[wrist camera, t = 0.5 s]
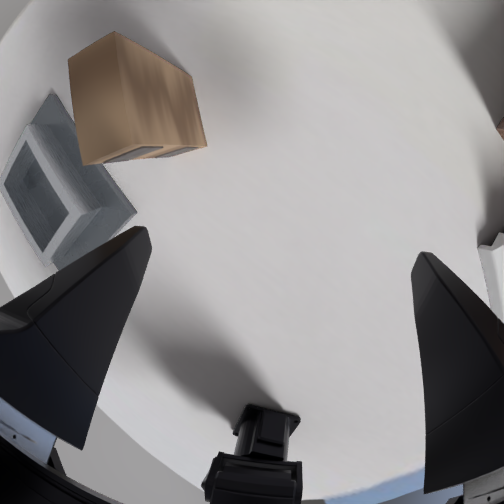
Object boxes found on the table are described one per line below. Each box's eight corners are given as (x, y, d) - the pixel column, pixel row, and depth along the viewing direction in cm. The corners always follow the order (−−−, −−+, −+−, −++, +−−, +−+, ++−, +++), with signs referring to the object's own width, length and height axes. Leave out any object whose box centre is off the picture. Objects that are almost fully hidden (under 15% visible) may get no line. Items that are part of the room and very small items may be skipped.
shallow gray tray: (137, 212, 24) (112, 223, 20) (74, 281, 28) (51, 297, 24) (56, 94, 21) (28, 92, 17) (9, 174, 25) (-15, 180, 21)
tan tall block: (207, 147, 21) (133, 146, 11) (172, 157, 22) (83, 167, 12) (191, 76, 20) (114, 31, 9) (158, 88, 20) (68, 59, 10)
